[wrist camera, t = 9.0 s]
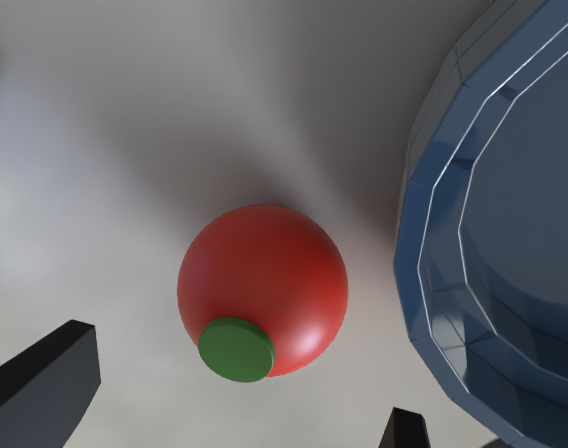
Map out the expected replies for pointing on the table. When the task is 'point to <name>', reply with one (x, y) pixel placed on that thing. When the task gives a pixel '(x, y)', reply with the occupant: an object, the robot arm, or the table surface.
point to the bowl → (493, 224)
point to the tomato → (262, 292)
